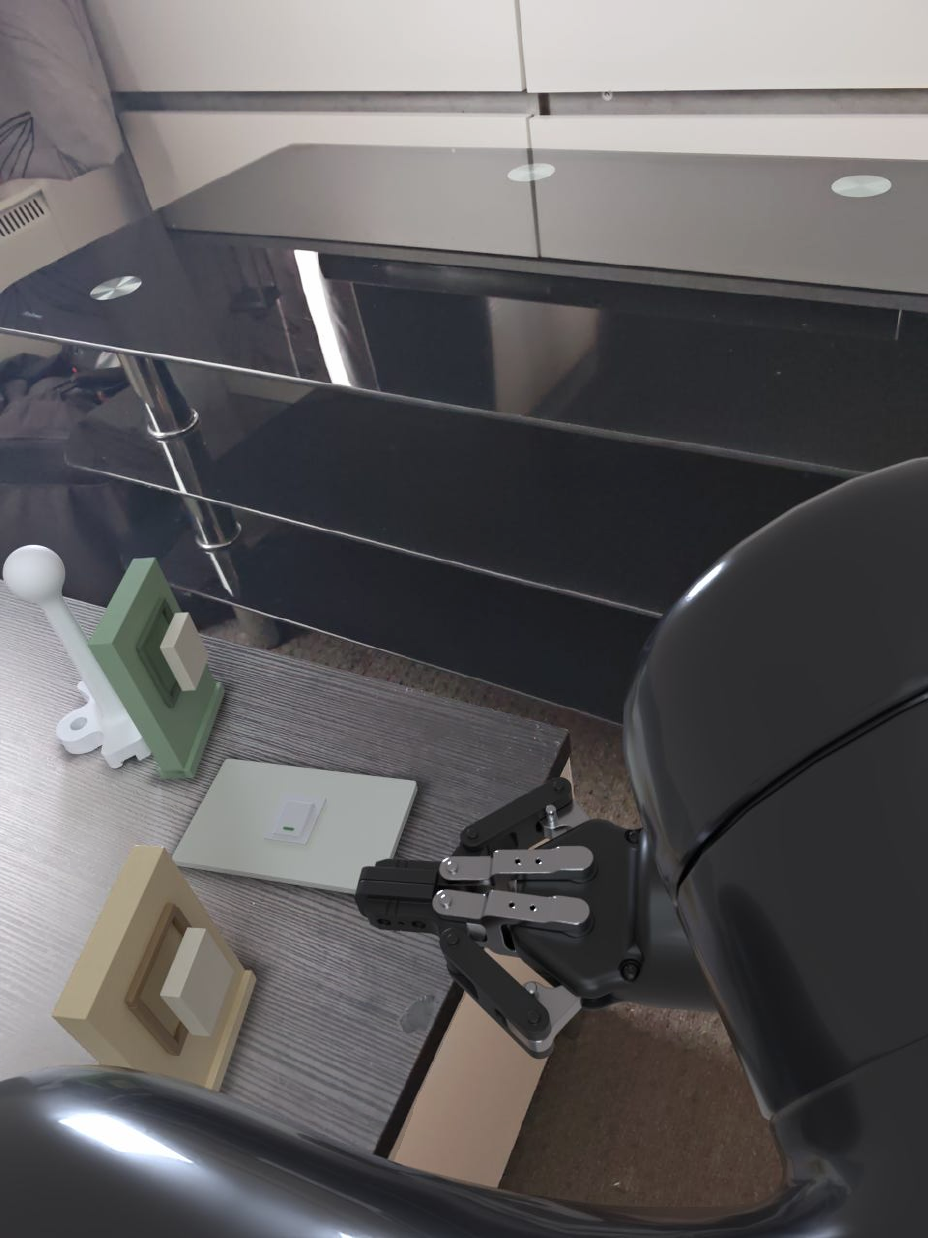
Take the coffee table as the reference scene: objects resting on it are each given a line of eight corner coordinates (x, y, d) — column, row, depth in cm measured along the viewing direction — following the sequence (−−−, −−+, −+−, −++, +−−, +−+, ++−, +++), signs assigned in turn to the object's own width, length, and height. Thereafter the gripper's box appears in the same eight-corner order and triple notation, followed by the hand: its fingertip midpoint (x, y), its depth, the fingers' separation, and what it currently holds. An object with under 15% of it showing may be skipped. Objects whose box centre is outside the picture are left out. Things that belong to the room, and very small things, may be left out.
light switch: (415, 777, 72) (375, 890, 65) (418, 786, 73) (379, 899, 66) (224, 754, 77) (168, 857, 70) (228, 763, 78) (173, 866, 71)
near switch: (234, 970, 55) (206, 928, 52) (210, 1037, 53) (179, 997, 49) (216, 969, 56) (186, 927, 52) (191, 1035, 53) (159, 995, 49)
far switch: (209, 655, 77) (188, 611, 74) (196, 690, 74) (173, 646, 71) (196, 656, 77) (174, 612, 74) (182, 691, 74) (159, 647, 71)
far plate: (225, 691, 85) (161, 556, 74) (194, 778, 77) (118, 642, 67) (195, 692, 85) (126, 559, 74) (161, 779, 78) (80, 645, 67)
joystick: (164, 748, 80) (63, 574, 67) (80, 790, 78) (-41, 619, 65) (132, 677, 88) (36, 507, 75) (55, 713, 86) (-58, 546, 73)
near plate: (257, 978, 63) (172, 846, 52) (204, 1136, 56) (94, 1020, 45) (217, 975, 64) (125, 843, 53) (160, 1130, 56) (41, 1015, 46)
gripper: (747, 740, 41) (376, 729, 45) (772, 1039, 31) (297, 994, 35) (738, 837, 46) (405, 820, 50) (757, 1121, 36) (343, 1073, 40)
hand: (361, 892), depth 42 cm, fingers closed
